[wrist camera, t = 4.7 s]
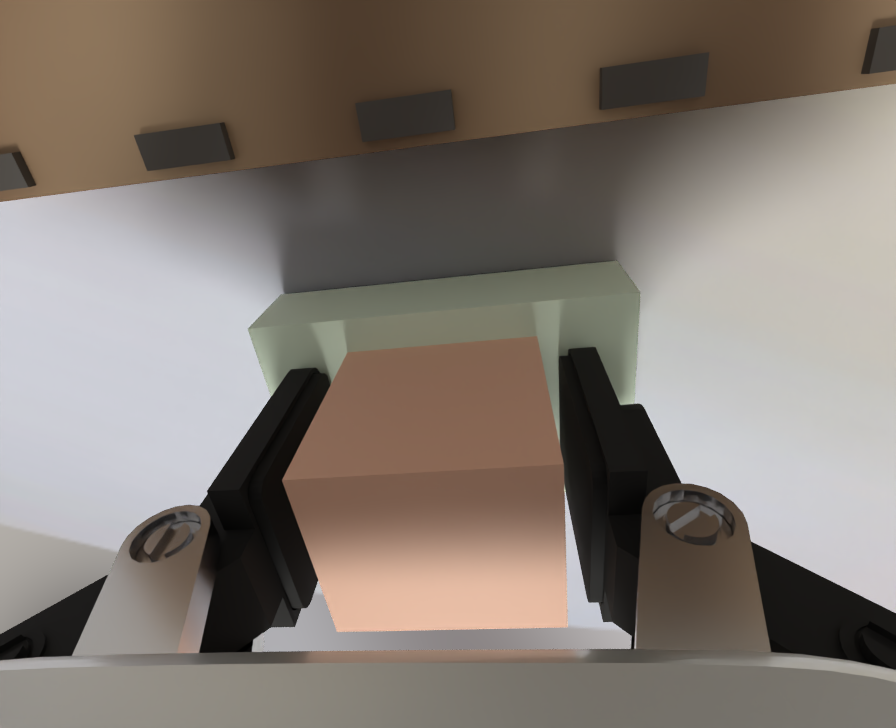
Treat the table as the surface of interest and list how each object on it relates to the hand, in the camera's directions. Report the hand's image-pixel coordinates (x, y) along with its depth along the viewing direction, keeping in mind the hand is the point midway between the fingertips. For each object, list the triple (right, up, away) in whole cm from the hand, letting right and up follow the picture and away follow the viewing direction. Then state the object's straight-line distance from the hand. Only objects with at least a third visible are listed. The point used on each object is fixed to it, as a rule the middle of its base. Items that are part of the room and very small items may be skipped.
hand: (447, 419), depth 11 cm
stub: (0, +1, +2) cm, 2 cm away
